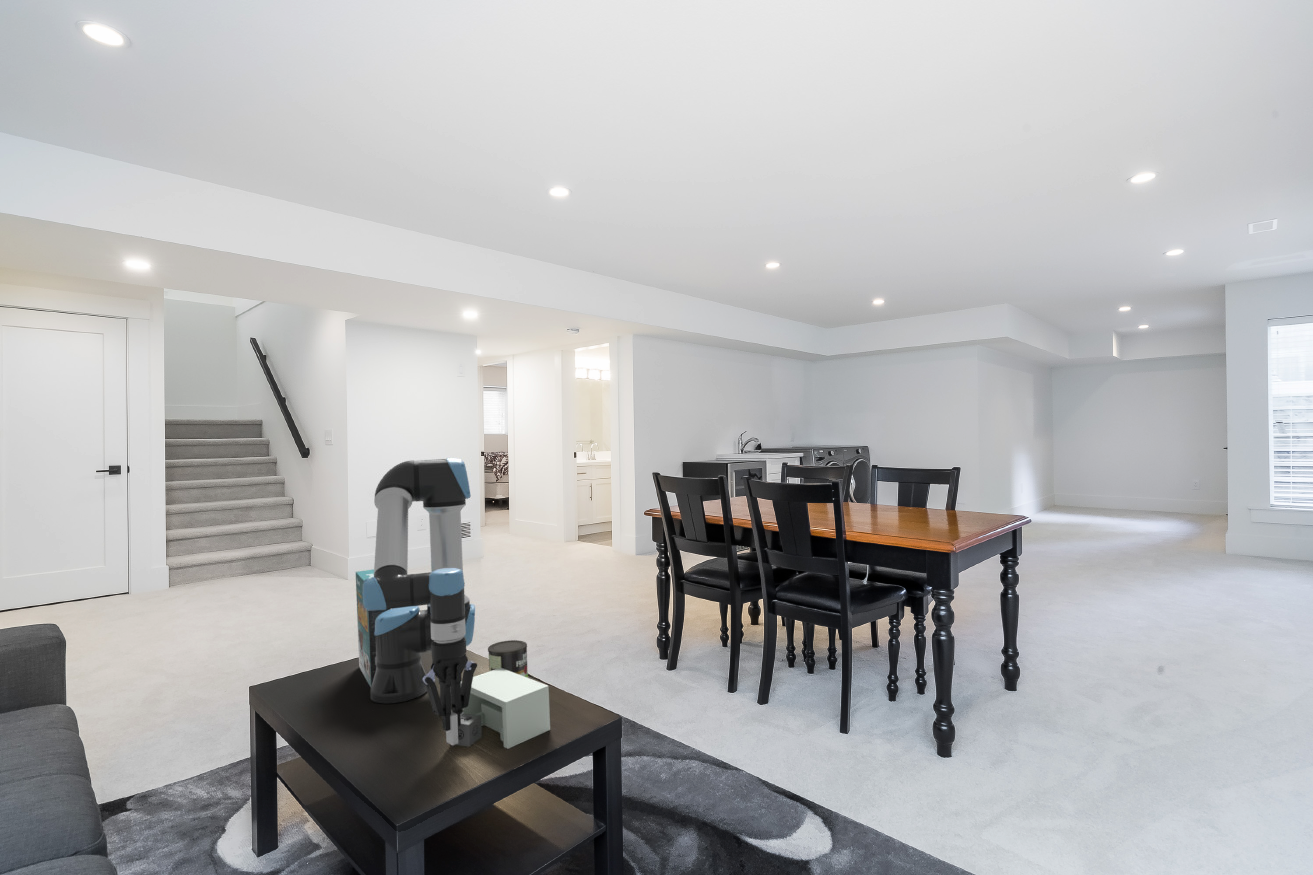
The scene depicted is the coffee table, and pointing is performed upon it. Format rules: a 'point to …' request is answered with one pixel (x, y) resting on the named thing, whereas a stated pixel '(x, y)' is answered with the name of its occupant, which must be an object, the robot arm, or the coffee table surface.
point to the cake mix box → (366, 629)
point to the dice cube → (469, 729)
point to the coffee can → (509, 656)
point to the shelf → (510, 705)
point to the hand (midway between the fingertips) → (452, 742)
